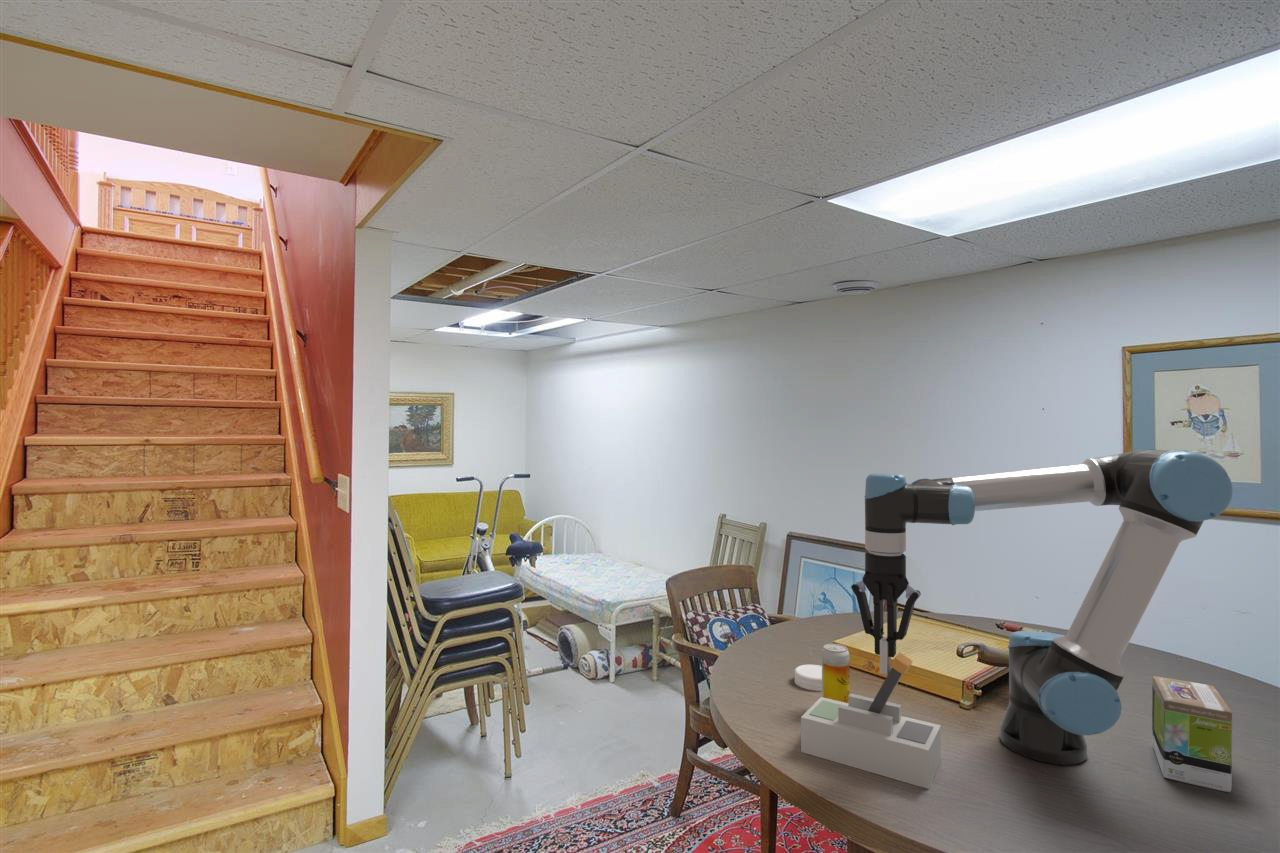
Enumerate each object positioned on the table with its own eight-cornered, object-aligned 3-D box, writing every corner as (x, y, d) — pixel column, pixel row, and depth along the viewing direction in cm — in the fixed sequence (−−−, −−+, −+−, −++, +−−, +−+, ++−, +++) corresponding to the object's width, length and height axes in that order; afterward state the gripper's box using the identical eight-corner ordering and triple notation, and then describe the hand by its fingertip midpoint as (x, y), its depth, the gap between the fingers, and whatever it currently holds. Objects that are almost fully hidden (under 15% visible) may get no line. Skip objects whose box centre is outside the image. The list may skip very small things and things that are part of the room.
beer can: (851, 719, 145) (850, 652, 145) (823, 717, 146) (822, 651, 146) (848, 708, 151) (847, 644, 151) (821, 706, 152) (820, 642, 152)
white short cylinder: (839, 682, 167) (839, 668, 167) (828, 695, 159) (828, 681, 159) (801, 674, 172) (801, 661, 172) (789, 686, 164) (788, 673, 164)
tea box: (1234, 795, 114) (1233, 711, 115) (1162, 779, 120) (1161, 699, 120) (1215, 758, 127) (1214, 683, 127) (1150, 745, 133) (1150, 673, 133)
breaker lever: (880, 717, 129) (912, 660, 126) (875, 724, 126) (908, 666, 122) (867, 708, 130) (899, 652, 127) (862, 715, 127) (894, 657, 124)
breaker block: (941, 761, 126) (940, 710, 126) (928, 789, 117) (928, 733, 117) (821, 729, 140) (820, 683, 140) (801, 751, 130) (800, 702, 130)
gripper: (924, 552, 126) (924, 673, 126) (857, 545, 134) (857, 659, 134) (916, 559, 120) (916, 685, 120) (846, 551, 127) (846, 670, 127)
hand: (885, 671), depth 127 cm, fingers closed
